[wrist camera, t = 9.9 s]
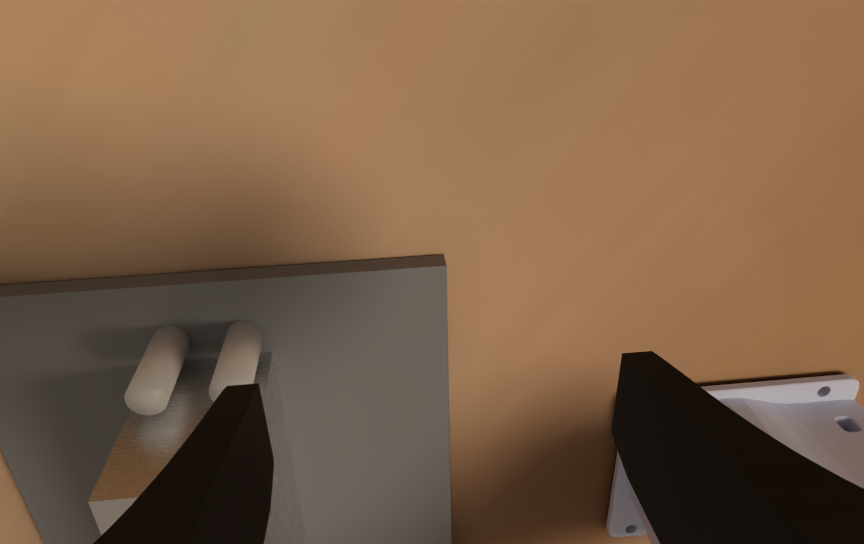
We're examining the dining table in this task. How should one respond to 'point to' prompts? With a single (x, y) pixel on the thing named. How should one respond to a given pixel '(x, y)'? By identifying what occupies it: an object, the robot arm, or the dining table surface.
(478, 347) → the dining table surface
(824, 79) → the dining table surface
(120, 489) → the block
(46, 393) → the dock
